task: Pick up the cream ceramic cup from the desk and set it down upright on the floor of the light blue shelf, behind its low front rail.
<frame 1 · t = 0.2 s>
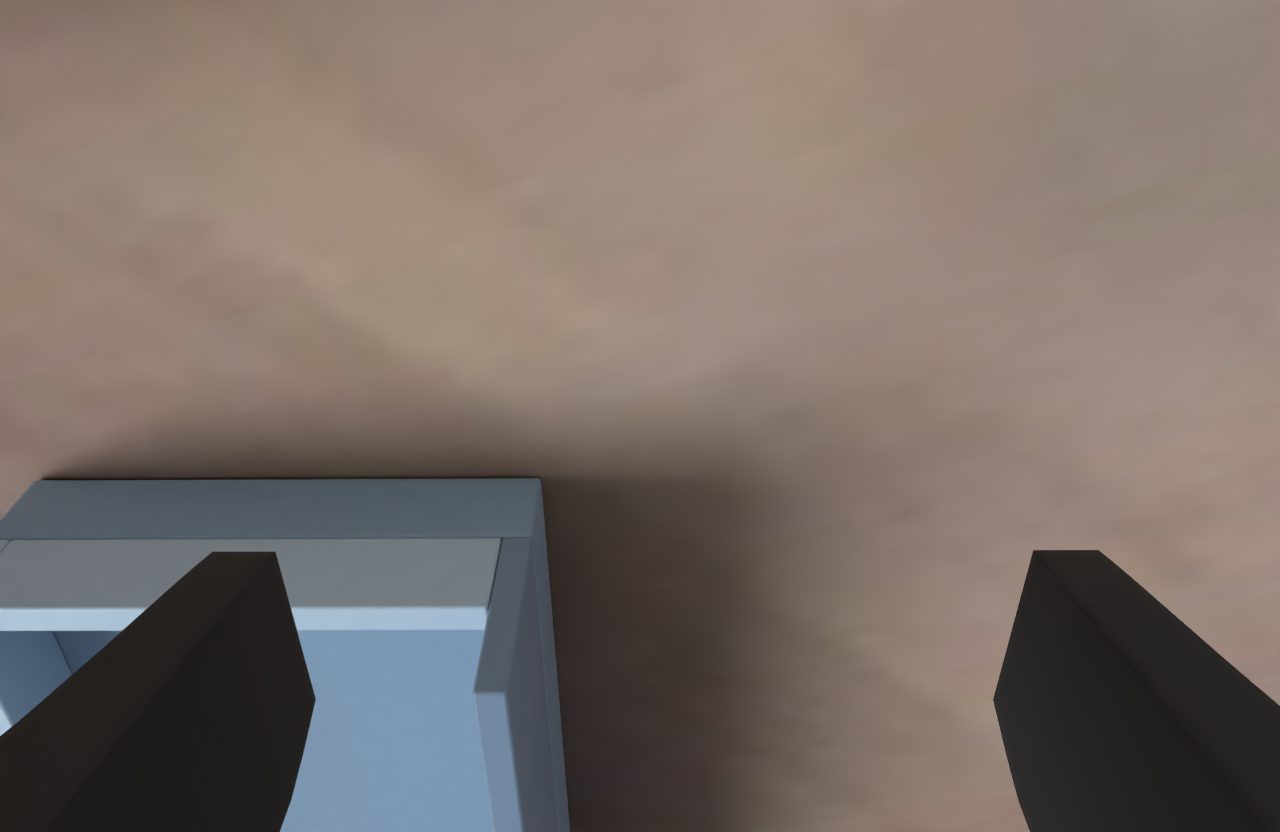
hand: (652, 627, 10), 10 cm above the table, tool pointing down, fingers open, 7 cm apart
light blue shelf: (347, 713, 25), on the table
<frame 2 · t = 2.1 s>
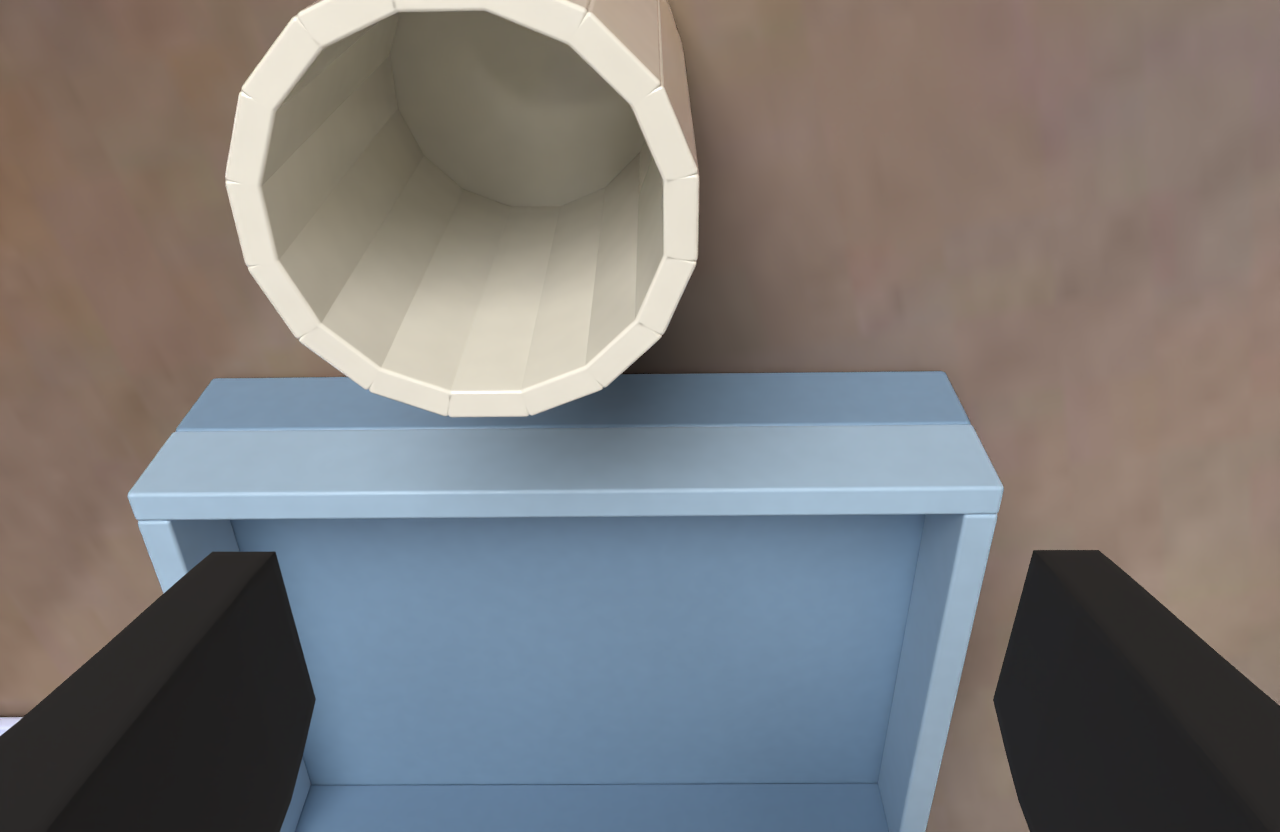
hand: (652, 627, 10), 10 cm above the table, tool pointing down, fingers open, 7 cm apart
light blue shelf: (588, 576, 23), on the table
cup: (529, 70, 17), on the table
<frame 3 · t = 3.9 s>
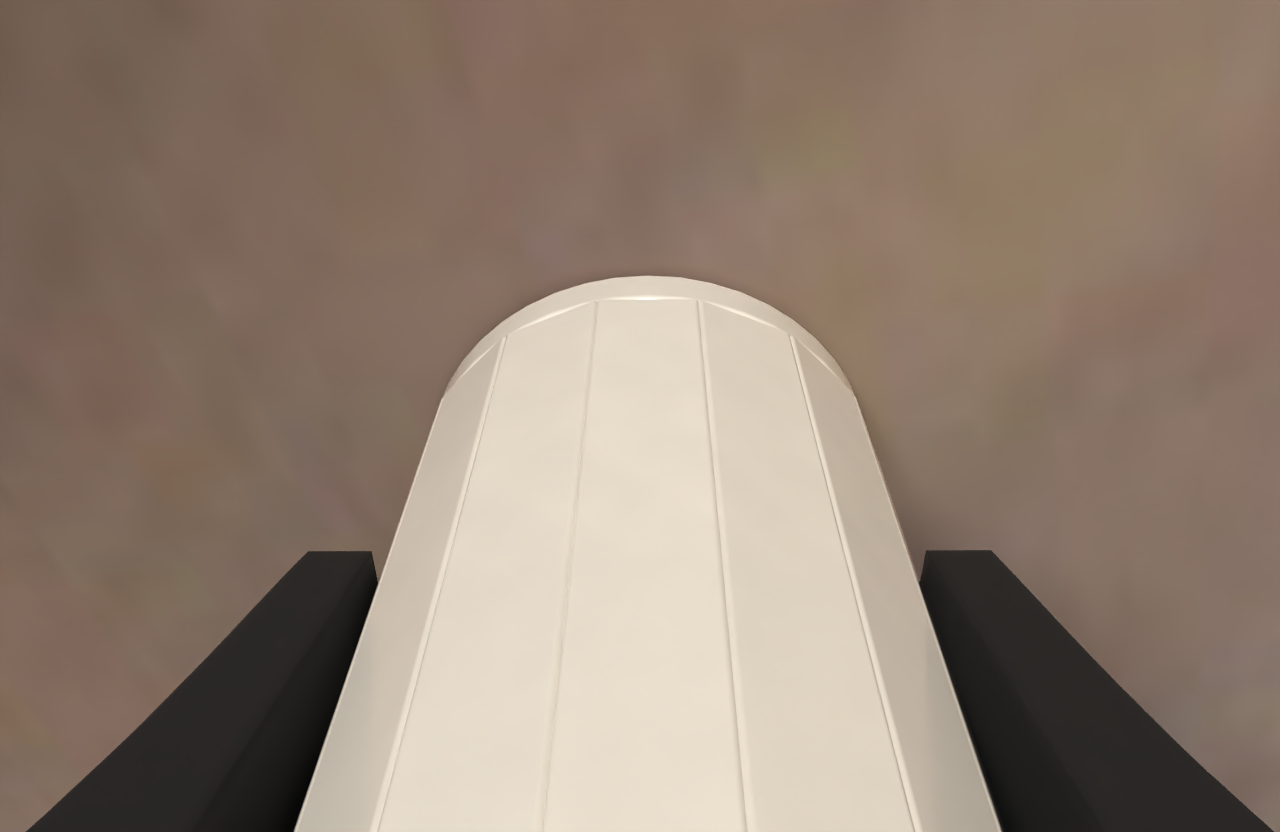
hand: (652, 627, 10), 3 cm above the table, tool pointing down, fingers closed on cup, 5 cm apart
cup: (648, 471, 12), on the table, touching gripper
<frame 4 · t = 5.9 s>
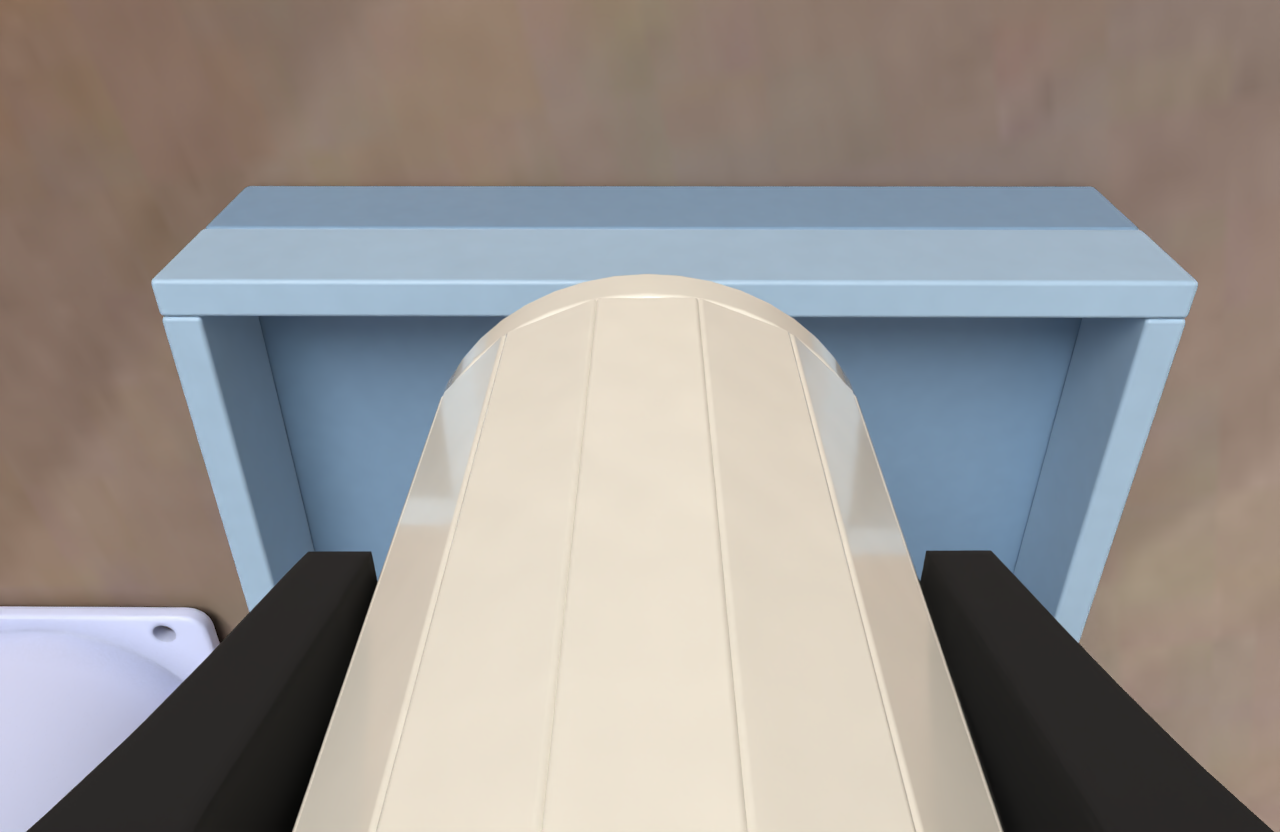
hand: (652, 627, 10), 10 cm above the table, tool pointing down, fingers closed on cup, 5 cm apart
light blue shelf: (664, 441, 20), on the table
cup: (648, 470, 12), point 7 cm above the table, touching gripper
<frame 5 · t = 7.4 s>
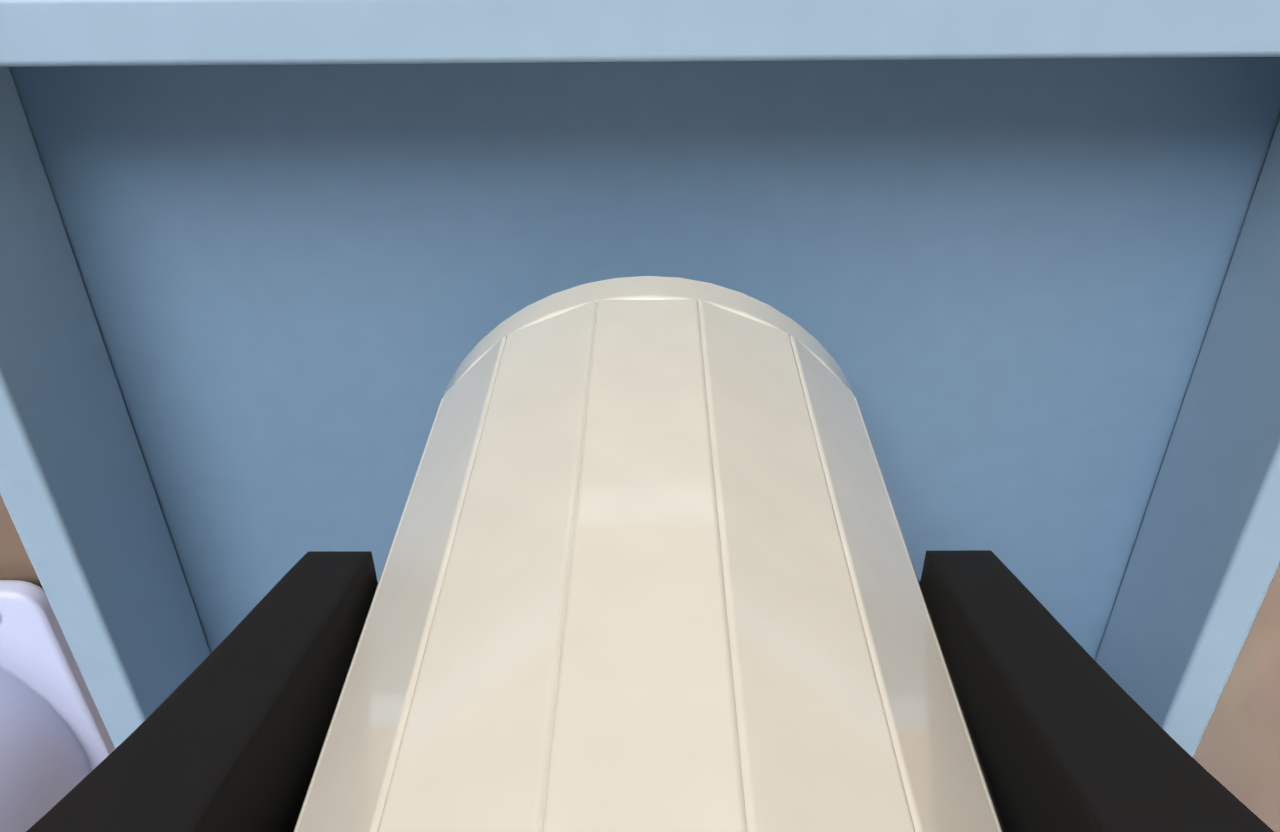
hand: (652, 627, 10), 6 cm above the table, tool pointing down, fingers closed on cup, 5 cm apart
light blue shelf: (650, 340, 15), on the table
cup: (648, 471, 12), point 3 cm above the table, touching gripper
when the fingers open (5 cm above the table, at t = 8.4 s): cup stays where it is, resting on light blue shelf.
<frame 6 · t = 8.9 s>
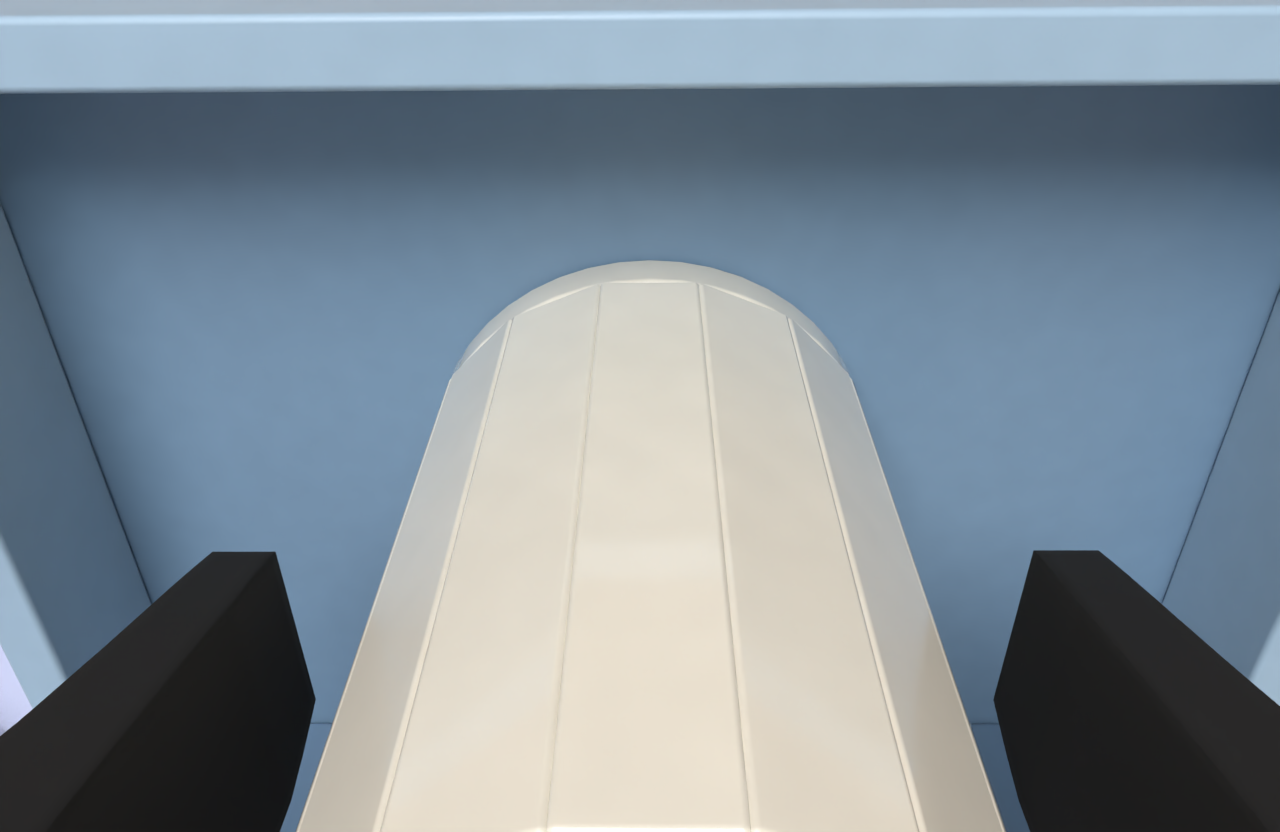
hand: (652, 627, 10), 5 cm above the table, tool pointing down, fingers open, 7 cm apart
light blue shelf: (652, 372, 14), on the table
cup: (650, 453, 12), point 2 cm above the table, touching light blue shelf
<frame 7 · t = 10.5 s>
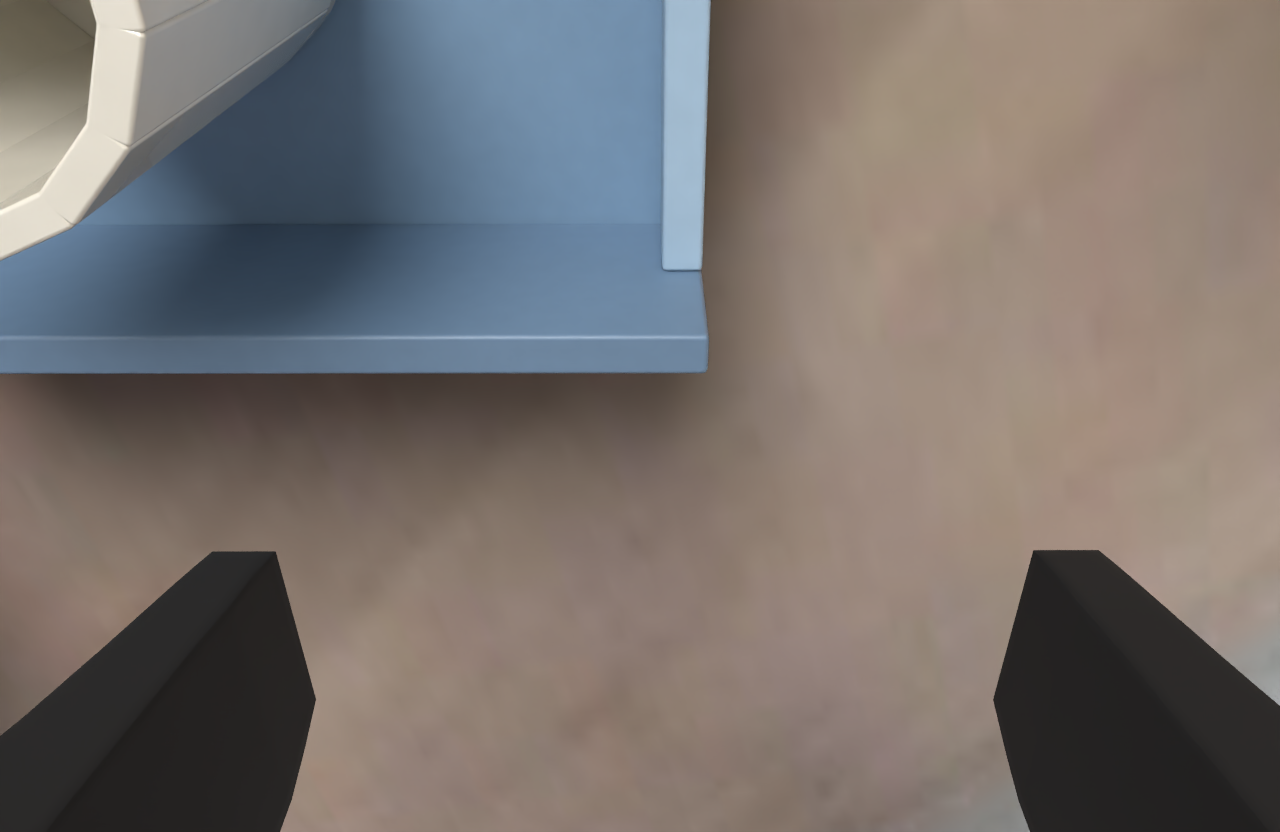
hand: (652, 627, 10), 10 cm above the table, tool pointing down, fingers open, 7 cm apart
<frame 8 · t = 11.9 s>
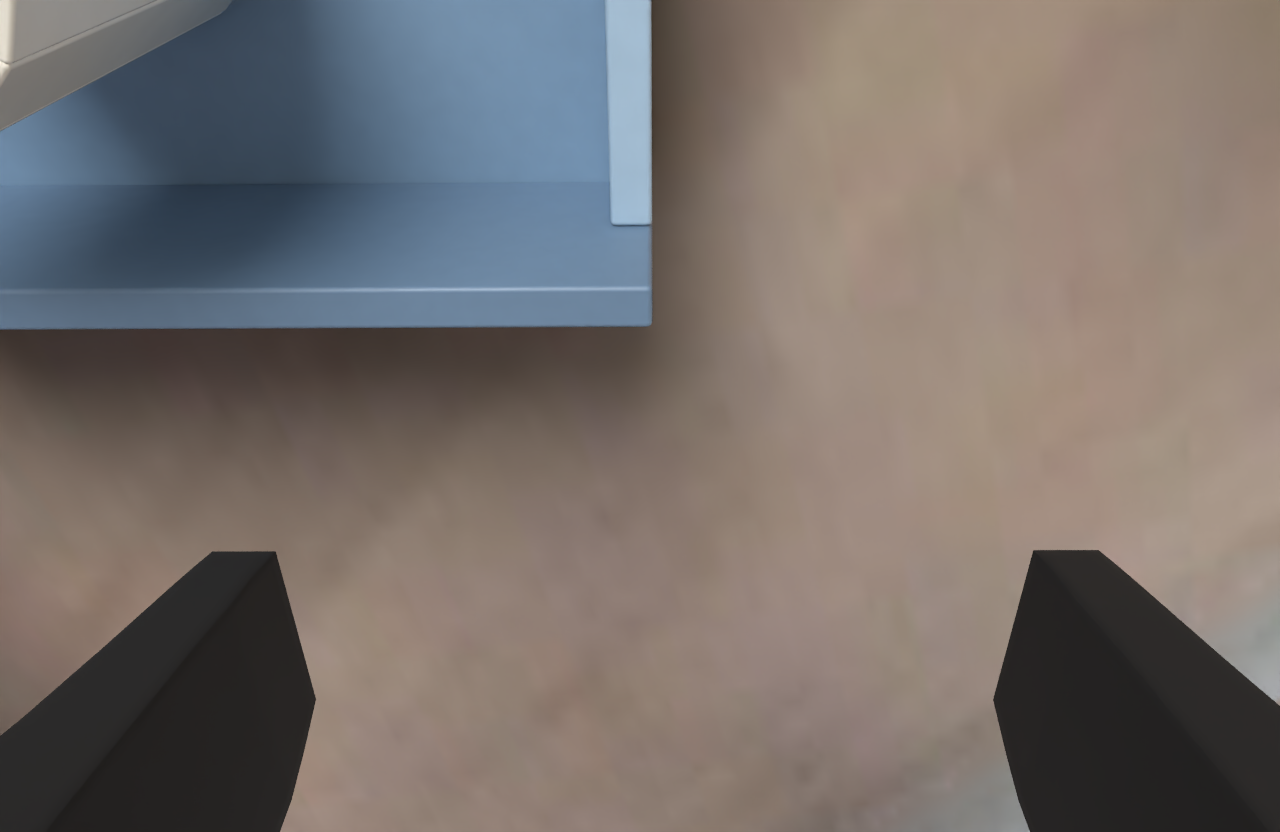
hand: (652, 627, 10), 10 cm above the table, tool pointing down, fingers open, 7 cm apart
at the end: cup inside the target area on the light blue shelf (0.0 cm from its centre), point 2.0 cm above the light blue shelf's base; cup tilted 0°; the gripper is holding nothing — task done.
